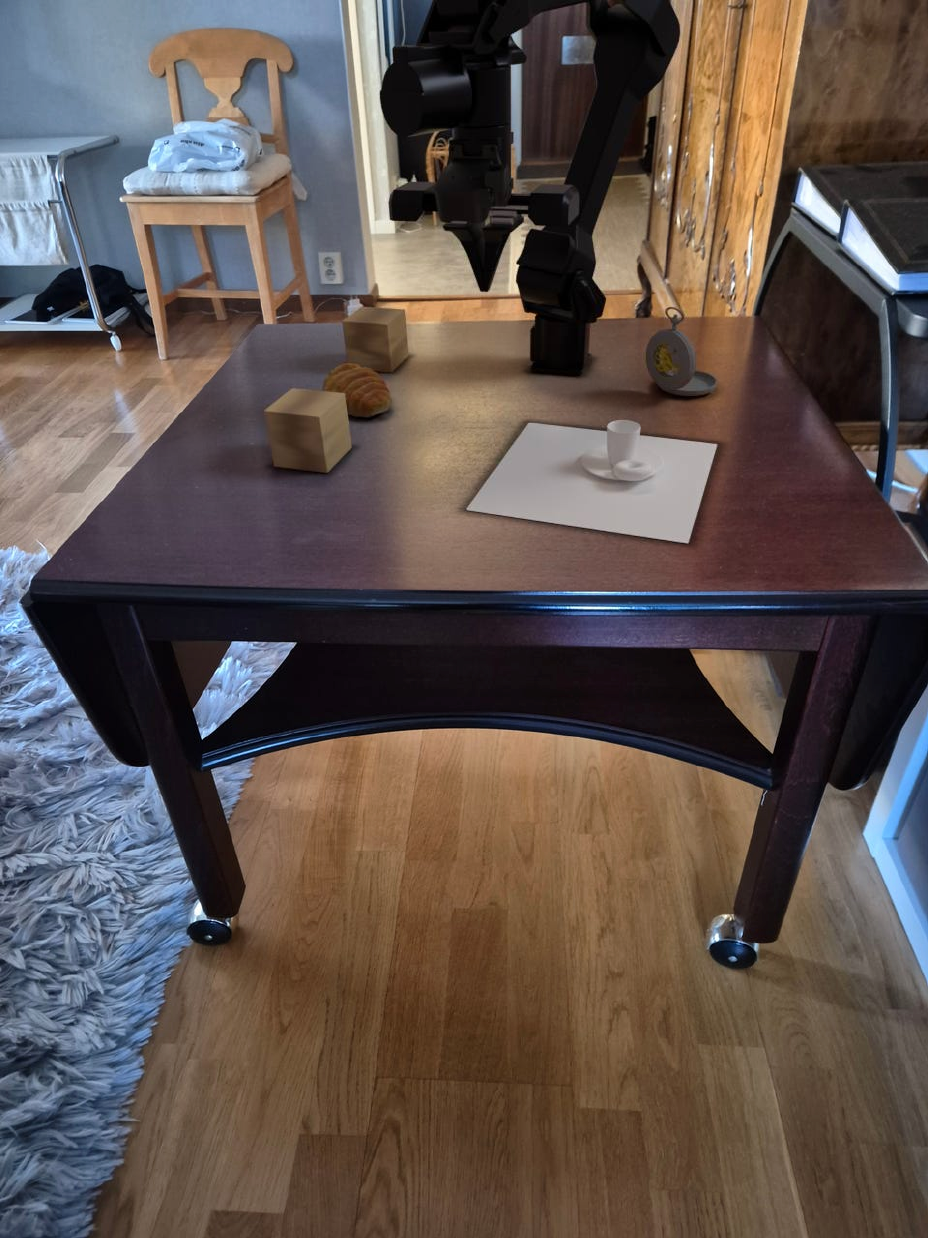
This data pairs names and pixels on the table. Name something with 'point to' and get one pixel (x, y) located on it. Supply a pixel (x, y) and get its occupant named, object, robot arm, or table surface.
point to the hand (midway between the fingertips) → (485, 290)
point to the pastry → (359, 389)
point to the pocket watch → (676, 362)
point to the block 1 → (308, 429)
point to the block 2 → (376, 338)
